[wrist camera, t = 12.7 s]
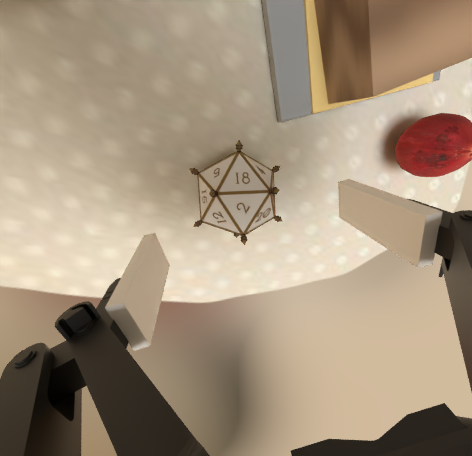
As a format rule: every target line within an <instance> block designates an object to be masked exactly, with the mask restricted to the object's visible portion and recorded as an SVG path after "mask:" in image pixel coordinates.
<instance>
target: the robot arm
mask: <svg viewBox="0 0 472 456" xmlns="http://www.w3.org/2000/svg"><path fill="white" fill-rule="evenodd" d="M338 189H339V217H340V218H341V219H343V220H344V221H346V222H347V223H349V224H350V225H352V226H353V227H355V228H357V229H358V230H360V231H361V232H363V233H364V234H366V235H367V236H369V237H370V238H372V239H374V240H375V241H377V242H378V243H380V244H381V245H383V246H384V247H386V248H387V249H389V250H391V251H392V252H394V253H395V254H397V255H398V256H400V257H401V258H403V259H404V260H406V261H408V262H409V263H411V264H412V265H414V266H415V267H417V268H420V267H423V266H427V265H430V264H433V260H434V254H435V253H437V254H439V255H440V256H442V257H443V259H442V264H441V268H440V273H439V277H442V275H443V274H444V277H445V281H446V285H447V289H448V293H449V298H450V302H451V307H452V311H453V315H454V319H455V323H456V328H457V332H458V336H459V340H460V345H461V349H462V353H463V357H464V361H465V365H466V370H467V374H468V378H469V382H470V387H471V391H472V211H470V210H468V211H458V212H455V213H450V212H447V211H444V210H441V209H438V208H436V207H433V206H429V205H427V204H424V203H423V204H422V203H421V202H418V201H415V200H411V199H405V198H402V197H399V196H396V195H393V194H390V193H387V192H385V191H382V190H379V189H376V188H373V187H370V186H367V185H364V184H361V183H359V182H356V181H353V180H350V179H347V180H344V181H340V182H338ZM169 266H170V265H169V263H168V261H167V259H166V256H165V254H164V252H163V250H162V248H161V245H160V243H159V241H158V239H157V237H156V234H155V233H153V234H149V235H146V236H144V237H143V239H142V240H141V242H140V244H139V246H138V248H137V250H136V251H135V253H134V255H133V257H132V259H131V261H130V262H129V264H128V266H127V268H126V270H125V272H124V273H123V275H122V277H121V278H119V279H116V280H115V281H114V282H113V283H112V284H111V285H110V286H109V288H108V290H107V291H106V294H105V295H104V296H103V298H102V300H101V301H100V303H99V305H98V307H97V308H96V309H95V307H94V306H93V305H92V303H90V302H82V303H79V304H77V305H75V306H73V307H71V308H69V309H68V310H67V311H65V312H64V313H63V314H62V315H61V316H60V317H59V318H58V319H57V321H56V322H55V327H56V328H57V330H58V331H59V332H60V333H61V334H62V335H63V337H64V338H65V339H66V340H67V341H65V342H63V343H61V344H59V345H57V346H55V347H53V348H51V349H49V348H48V347H47V346H46V345H45V344H44V343H37V344H35V345H32V346H30V347H28V348H26V349H25V350H22V351H21V352H20V353H18V355H16V356H15V357H14V358H13V359H12V360H11V361H10V362H9V363H8V364H7V366H6V367H5V369H4V371H3V373H2V376H1V379H0V456H81V395H82V390H81V389H82V388H83V387H85V386H86V385H87V387H88V389H89V392H90V394H91V396H92V399H93V401H94V403H95V405H96V408H97V410H98V412H99V415H100V417H101V419H102V421H103V424H104V426H105V428H106V430H107V433H108V435H109V437H110V440H111V442H112V444H113V446H114V449H115V451H116V453H117V456H210V455H209V454H208V453H207V452H206V450H205V449H204V448H203V447H202V445H201V444H200V443H199V442H198V441H197V440H196V439H195V438H194V436H193V435H192V434H191V432H190V431H189V430H188V428H187V427H186V426H185V425H184V423H183V422H182V421H181V419H180V418H179V417H178V416H177V414H176V413H175V412H174V410H173V409H172V408H171V406H170V405H169V404H168V403H167V401H166V400H165V399H164V398H163V396H162V395H161V394H160V392H159V391H158V390H157V389H156V387H155V386H154V384H153V383H152V382H151V381H150V379H149V378H148V377H147V375H146V374H145V373H144V372H143V370H142V369H141V368H140V366H139V365H138V364H137V362H136V361H135V360H134V359H133V357H132V356H131V355H130V353H129V352H128V351H127V350H126V348H127V345H128V343H129V344H130V346H131V347H132V348H133V350H138V349H141V348H145V347H148V346H150V345H151V341H152V336H153V332H154V328H155V324H156V320H157V316H158V311H159V307H160V303H161V299H162V295H163V291H164V286H165V282H166V278H167V274H168V270H169ZM291 454H292V456H472V419H470V418H464V417H458V416H455V415H454V414H453V412H452V411H451V410H450V409H449V408H448V407H447V406H446V404H445V403H444V404H440V405H437V406H434V407H431V408H428V409H424V410H421V411H418V412H415V413H411V414H408V415H406V416H405V417H404V418H403V419H402V420H400V421H399V422H398V423H397V424H396V425H395V426H393V427H392V428H391V429H390V430H389V431H387V432H386V433H385V434H384V435H383V436H382V437H380V438H379V439H377V440H375V441H362V440H341V439H327V440H324V441H321V442H317V443H314V444H311V445H308V446H305V447H302V448H298V449H295V450H292V451H291Z"/></svg>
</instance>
